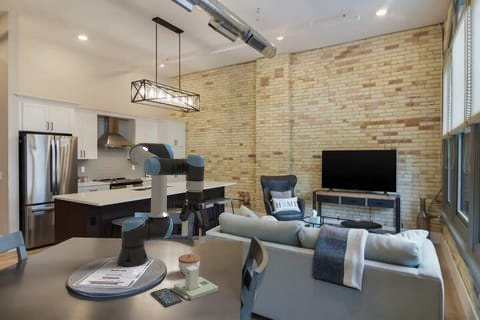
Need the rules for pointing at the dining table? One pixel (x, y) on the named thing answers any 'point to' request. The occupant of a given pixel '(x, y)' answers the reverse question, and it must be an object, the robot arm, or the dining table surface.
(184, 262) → the lidded jar
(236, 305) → the dining table surface
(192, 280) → the block
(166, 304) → the phone
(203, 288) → the outlet plate
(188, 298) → the grey pen
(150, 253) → the dining table surface
